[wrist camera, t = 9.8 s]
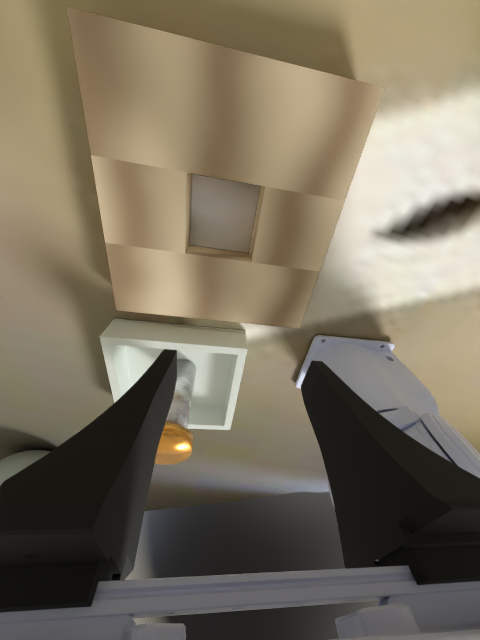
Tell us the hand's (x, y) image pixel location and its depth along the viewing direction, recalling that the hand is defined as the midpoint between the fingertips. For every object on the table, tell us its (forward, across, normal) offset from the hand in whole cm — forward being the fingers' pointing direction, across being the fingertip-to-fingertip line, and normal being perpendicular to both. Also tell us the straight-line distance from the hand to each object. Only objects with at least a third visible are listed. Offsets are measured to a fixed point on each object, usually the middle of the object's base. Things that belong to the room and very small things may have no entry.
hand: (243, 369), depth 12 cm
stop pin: (+10, +5, +10) cm, 15 cm away
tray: (+10, +5, +11) cm, 16 cm away
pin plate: (+10, +2, -6) cm, 12 cm away
